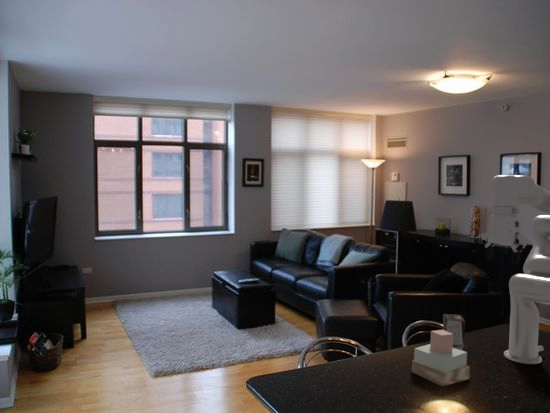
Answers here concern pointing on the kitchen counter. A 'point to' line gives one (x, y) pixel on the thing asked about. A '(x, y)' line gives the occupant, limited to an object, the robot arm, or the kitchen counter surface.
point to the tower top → (440, 358)
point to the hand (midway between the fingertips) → (502, 261)
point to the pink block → (441, 341)
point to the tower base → (441, 374)
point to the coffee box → (455, 329)
